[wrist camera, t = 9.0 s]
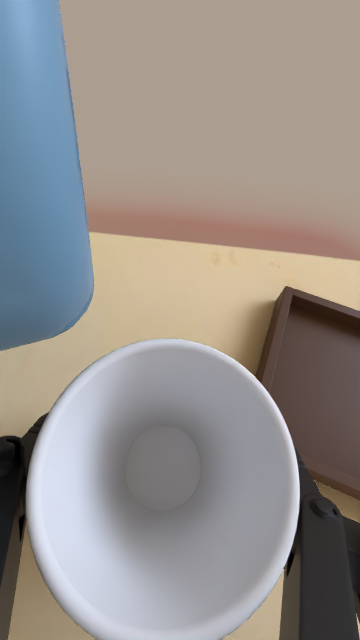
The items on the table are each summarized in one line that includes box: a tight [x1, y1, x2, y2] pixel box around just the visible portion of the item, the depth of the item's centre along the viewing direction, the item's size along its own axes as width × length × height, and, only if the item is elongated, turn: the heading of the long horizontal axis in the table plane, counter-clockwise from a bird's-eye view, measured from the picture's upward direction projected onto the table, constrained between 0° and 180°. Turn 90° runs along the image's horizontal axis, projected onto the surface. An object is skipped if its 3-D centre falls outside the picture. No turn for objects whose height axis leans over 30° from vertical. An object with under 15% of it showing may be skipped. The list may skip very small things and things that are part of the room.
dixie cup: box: [26, 339, 300, 640], centre depth 13 cm, size 8×8×11 cm
